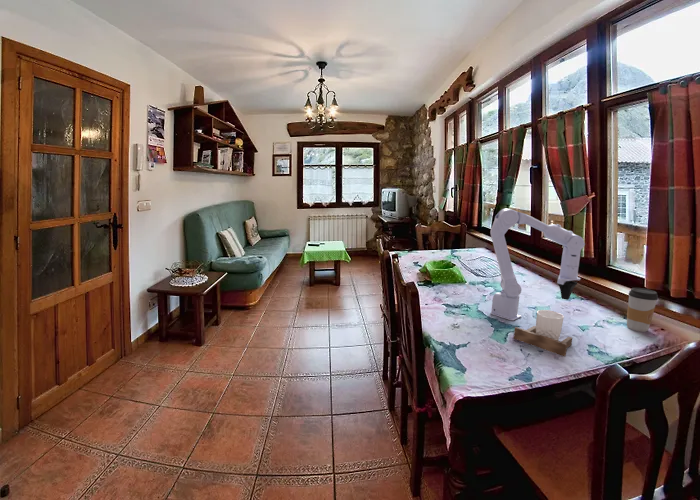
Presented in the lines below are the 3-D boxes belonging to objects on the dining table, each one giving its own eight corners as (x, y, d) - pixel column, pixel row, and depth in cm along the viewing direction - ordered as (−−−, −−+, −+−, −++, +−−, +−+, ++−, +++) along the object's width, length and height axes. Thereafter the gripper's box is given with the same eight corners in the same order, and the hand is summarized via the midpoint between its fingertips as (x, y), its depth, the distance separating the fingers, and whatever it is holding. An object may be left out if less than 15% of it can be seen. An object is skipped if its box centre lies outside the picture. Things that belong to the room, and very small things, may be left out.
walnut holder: (513, 338, 117) (514, 327, 116) (528, 330, 124) (529, 320, 123) (564, 356, 105) (565, 344, 104) (577, 346, 112) (579, 335, 111)
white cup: (535, 334, 121) (538, 308, 119) (560, 340, 116) (564, 313, 114) (532, 342, 114) (535, 314, 112) (559, 349, 110) (563, 320, 108)
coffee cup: (645, 334, 122) (652, 295, 119) (618, 326, 129) (624, 289, 126) (655, 330, 126) (663, 292, 123) (629, 322, 133) (635, 286, 130)
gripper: (574, 269, 121) (569, 305, 124) (588, 264, 130) (583, 298, 133) (553, 266, 127) (548, 300, 129) (568, 261, 136) (563, 293, 138)
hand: (565, 299), depth 131 cm, fingers closed
